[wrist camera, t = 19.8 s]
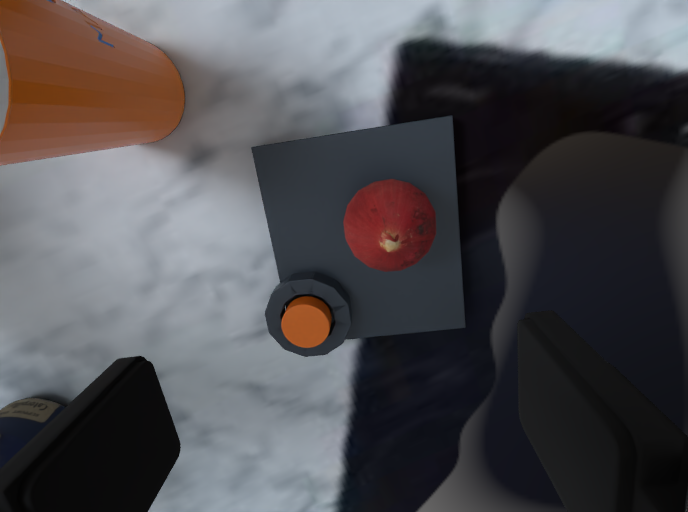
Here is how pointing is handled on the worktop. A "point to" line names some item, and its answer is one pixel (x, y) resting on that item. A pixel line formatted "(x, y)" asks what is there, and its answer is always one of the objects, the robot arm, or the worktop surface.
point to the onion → (390, 225)
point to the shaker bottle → (79, 84)
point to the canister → (23, 424)
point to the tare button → (306, 322)
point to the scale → (329, 237)
